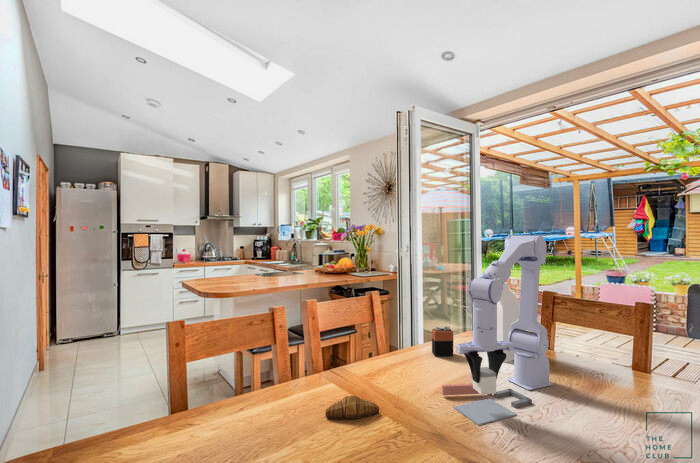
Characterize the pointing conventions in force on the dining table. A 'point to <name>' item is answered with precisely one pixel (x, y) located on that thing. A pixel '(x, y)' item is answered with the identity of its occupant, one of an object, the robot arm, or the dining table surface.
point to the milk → (506, 317)
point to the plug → (486, 382)
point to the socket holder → (522, 399)
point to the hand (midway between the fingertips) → (484, 380)
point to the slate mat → (484, 411)
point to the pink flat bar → (459, 389)
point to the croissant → (352, 408)
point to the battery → (442, 341)
